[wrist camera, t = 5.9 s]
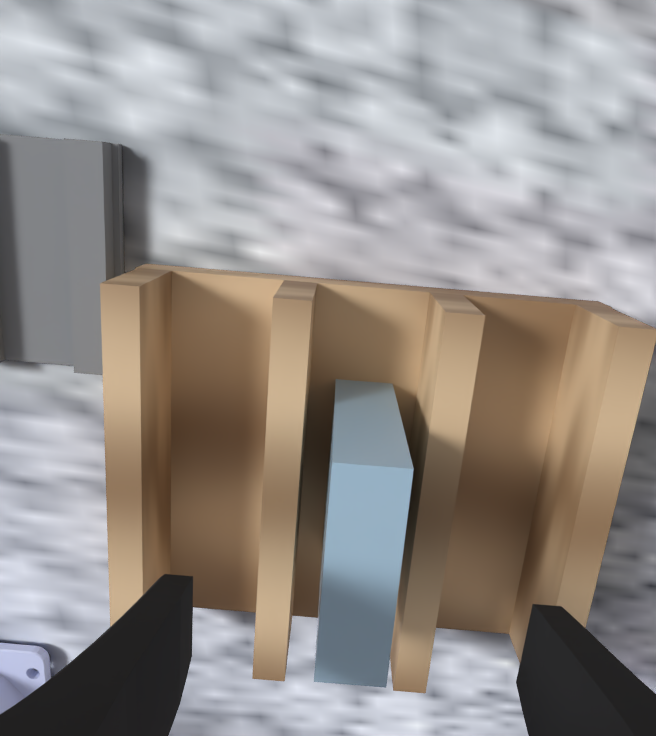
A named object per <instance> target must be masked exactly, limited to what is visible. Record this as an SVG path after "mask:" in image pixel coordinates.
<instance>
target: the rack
mask: <svg viewBox="0 0 656 736" xmlns="http://www.w3.org/2000/svg"><path fill="white" fill-rule="evenodd" d="M100 300H101V333H102V366H103V399H104V431H105V464H106V497H107V530H108V563H109V596H110V627H111V626H112V625H113V624H114V623H115V622H116V621H117V620H118V619H119V618H120V617H121V616H123V615H124V614H125V613H126V612H127V611H128V610H129V609H130V608H131V607H132V606H133V605H134V604H135V603H136V602H137V601H138V600H139V599H140V598H141V596H142V595H143V594H144V593H145V592H146V591H147V590H148V589H149V588H150V587H151V586H152V585H153V584H154V583H155V582H156V581H157V580H158V579H159V578H160V577H161V576H163V575H164V574H172V575H184V576H193V607H198V608H209V609H221V610H233V611H245V612H256V622H255V641H254V659H253V678H252V679H263V680H275V681H285V673H286V665H287V656H288V648H289V640H290V631H291V623H292V616H304V617H316V618H318V607H319V590H320V574H321V557H322V542H323V529H324V517H325V505H326V492H327V480H328V468H329V455H330V443H331V431H332V418H333V406H334V394H335V381H336V379H341V380H353V381H366V382H379V383H392V384H393V387H394V391H395V395H396V399H397V403H398V407H399V412H400V416H401V420H402V424H403V428H404V432H405V436H406V440H407V444H408V448H409V452H410V456H411V460H412V464H413V468H414V471H413V479H412V486H411V494H410V502H409V510H408V518H407V526H406V534H405V542H404V550H403V558H402V566H401V573H400V581H399V589H398V597H397V605H396V613H395V621H394V629H393V637H392V645H391V653H390V661H391V671H392V682H393V691H405V692H417V693H426V686H427V680H428V674H429V668H430V661H431V655H432V649H433V642H434V636H435V630H436V628H446V629H458V630H470V631H482V632H494V633H506V634H509V635H510V638H511V640H512V643H513V646H514V649H515V651H516V654H517V657H518V659H519V662H521V657H522V652H523V648H524V643H525V638H526V633H527V629H528V624H529V619H530V614H531V610H532V605H533V604H540V605H552V606H562V607H563V608H564V609H565V610H566V611H567V612H569V613H570V614H571V615H572V616H573V617H574V618H575V619H576V620H577V621H578V622H579V623H580V624H581V625H582V626H583V627H584V628H586V623H587V619H588V615H589V611H590V607H591V603H592V599H593V595H594V591H595V587H596V583H597V579H598V575H599V571H600V566H601V562H602V558H603V554H604V550H605V546H606V542H607V538H608V534H609V530H610V526H611V522H612V518H613V514H614V509H615V505H616V501H617V497H618V493H619V489H620V485H621V481H622V477H623V473H624V469H625V465H626V461H627V457H628V452H629V448H630V444H631V440H632V436H633V432H634V428H635V424H636V420H637V416H638V412H639V408H640V404H641V400H642V395H643V391H644V387H645V383H646V379H647V375H648V371H649V367H650V363H651V359H652V355H653V351H654V347H655V343H656V329H655V328H653V327H651V326H649V325H647V324H644V323H642V322H640V321H638V320H636V319H633V318H631V317H629V316H627V315H625V314H622V313H620V312H618V311H616V310H614V309H612V307H610V306H607V305H605V304H603V303H601V302H598V301H587V300H575V299H563V298H551V297H539V296H527V295H515V294H503V293H491V292H479V291H467V290H455V289H443V288H431V287H419V286H407V285H395V284H383V283H371V282H359V281H347V280H335V279H324V278H312V277H300V276H288V275H276V274H264V273H252V272H240V271H228V270H216V269H204V268H192V267H180V266H168V265H156V264H144V265H141V266H138V267H136V268H135V270H132V271H130V272H127V273H125V274H122V275H120V276H117V277H115V278H112V279H109V280H107V281H104V282H102V283H100Z"/></svg>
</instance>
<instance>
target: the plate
mask: <svg viewBox="0 0 656 736" xmlns="http://www.w3.org/2000/svg"><path fill="white" fill-rule="evenodd" d="M413 471H414V468H413V464H412V460H411V456H410V452H409V448H408V444H407V440H406V436H405V432H404V428H403V424H402V420H401V416H400V412H399V407H398V403H397V399H396V395H395V391H394V387H393V384H392V383H379V382H366V381H353V380H341V379H336V381H335V394H334V406H333V418H332V431H331V443H330V455H329V468H328V480H327V492H326V505H325V517H324V529H323V542H322V557H321V574H320V590H319V607H318V623H317V640H316V656H315V673H314V682H324V683H337V684H349V685H362V686H374V687H386V684H387V676H388V668H389V660H390V653H391V645H392V637H393V629H394V621H395V613H396V605H397V597H398V589H399V581H400V573H401V566H402V558H403V550H404V542H405V534H406V526H407V518H408V510H409V502H410V494H411V486H412V479H413Z"/></svg>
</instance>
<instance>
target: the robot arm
mask: <svg viewBox="0 0 656 736" xmlns="http://www.w3.org/2000/svg"><path fill="white" fill-rule="evenodd" d="M192 615H193V576H184V575H172V574H164V575H163V576H161V577H160V578H159V579H158V580H157V581H156V582H155V583H154V584H153V585H152V586H151V587H150V588H149V589H148V590H147V591H146V592H145V593H144V594H143V595H142V596H141V598H140V599H139V600H138V601H137V602H136V603H135V604H134V605H133V606H132V607H131V608H130V609H129V610H128V611H127V612H126V613H125V614H124V615H123V616H121V617H120V618H119V619H118V620H117V621H116V622H115V623H114V624H113V625H112V626H111V627H110V628H109V629H108V630H107V631H106V632H105V633H103V634H102V635H101V636H100V637H99V638H98V639H97V640H96V641H95V642H94V643H93V644H91V645H90V646H89V647H88V648H87V649H86V650H84V651H83V652H82V653H81V654H80V655H79V656H77V657H76V658H75V659H74V660H73V661H72V662H70V663H69V664H68V665H67V666H66V667H64V668H63V669H62V670H61V671H60V672H58V673H57V674H56V675H54V676H53V677H52V678H51V673H50V658H49V654H48V652H47V651H46V650H45V649H43V648H42V647H39V646H32V645H20V644H8V643H0V736H168V735H169V732H170V729H171V727H172V724H173V721H174V719H175V716H176V713H177V710H178V707H179V705H180V701H181V697H182V693H183V689H184V686H185V682H186V678H187V673H188V669H189V665H190V661H191V657H192ZM33 668H34V669H37V670H38V671H35V670H34V669H33ZM516 684H517V688H518V693H519V697H520V702H521V706H522V711H523V715H524V719H525V723H526V727H527V731H528V734H529V736H656V694H655V693H654V692H653V691H652V690H651V689H649V688H648V687H647V686H646V685H645V684H644V683H643V682H642V681H640V680H639V679H638V678H637V677H636V676H635V675H634V674H633V673H632V672H631V671H630V670H629V669H627V668H626V667H625V666H624V665H623V664H622V663H621V662H620V661H619V660H618V659H617V658H616V657H615V656H614V655H613V654H612V653H610V652H609V651H608V650H607V649H606V648H605V647H604V646H603V645H602V644H601V643H600V642H599V641H598V640H597V639H596V638H595V637H594V636H593V635H592V634H591V633H590V632H589V631H588V630H587V629H585V628H584V627H583V626H582V625H581V624H580V623H579V622H578V621H577V620H576V619H575V618H574V617H573V616H572V615H571V614H570V613H569V612H567V611H566V610H565V609H564V608H563V607H562V606H552V605H540V604H533V605H532V610H531V614H530V619H529V624H528V629H527V633H526V638H525V643H524V648H523V652H522V657H521V662H520V667H519V671H518V676H517V681H516Z"/></svg>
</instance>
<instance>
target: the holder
mask: <svg viewBox="0 0 656 736" xmlns="http://www.w3.org/2000/svg"><path fill="white" fill-rule="evenodd" d="M122 274H124V242H123V188H122V145H121V144H112V143H106V142H99V141H87V140H75V139H52V138H40V137H28V136H16V135H4V134H0V362H1V361H3V360H13V361H25V362H37V363H49V364H61V365H73V366H74V373H84V374H96V375H103V366H102V333H101V300H100V283H102V282H104V281H107V280H109V279H112V278H115V277H117V276H120V275H122Z"/></svg>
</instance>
